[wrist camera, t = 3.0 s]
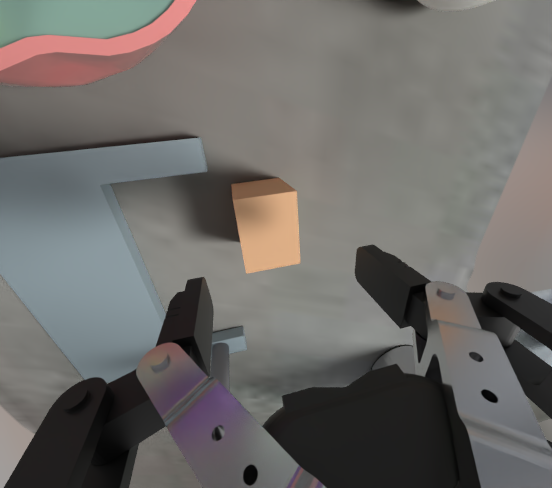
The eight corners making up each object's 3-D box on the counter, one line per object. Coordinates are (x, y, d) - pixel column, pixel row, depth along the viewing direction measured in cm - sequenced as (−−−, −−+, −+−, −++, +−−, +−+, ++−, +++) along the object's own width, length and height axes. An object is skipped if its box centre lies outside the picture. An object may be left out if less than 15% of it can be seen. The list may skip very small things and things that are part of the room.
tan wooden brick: (279, 177, 21) (297, 190, 15) (284, 234, 23) (301, 263, 18) (230, 184, 20) (231, 200, 15) (240, 242, 23) (245, 273, 17)
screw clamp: (232, 134, 18) (242, 126, 6) (265, 335, 29) (291, 472, 17) (-59, 164, 16) (-1007, 248, 4) (97, 374, 26) (-12, 570, 14)
